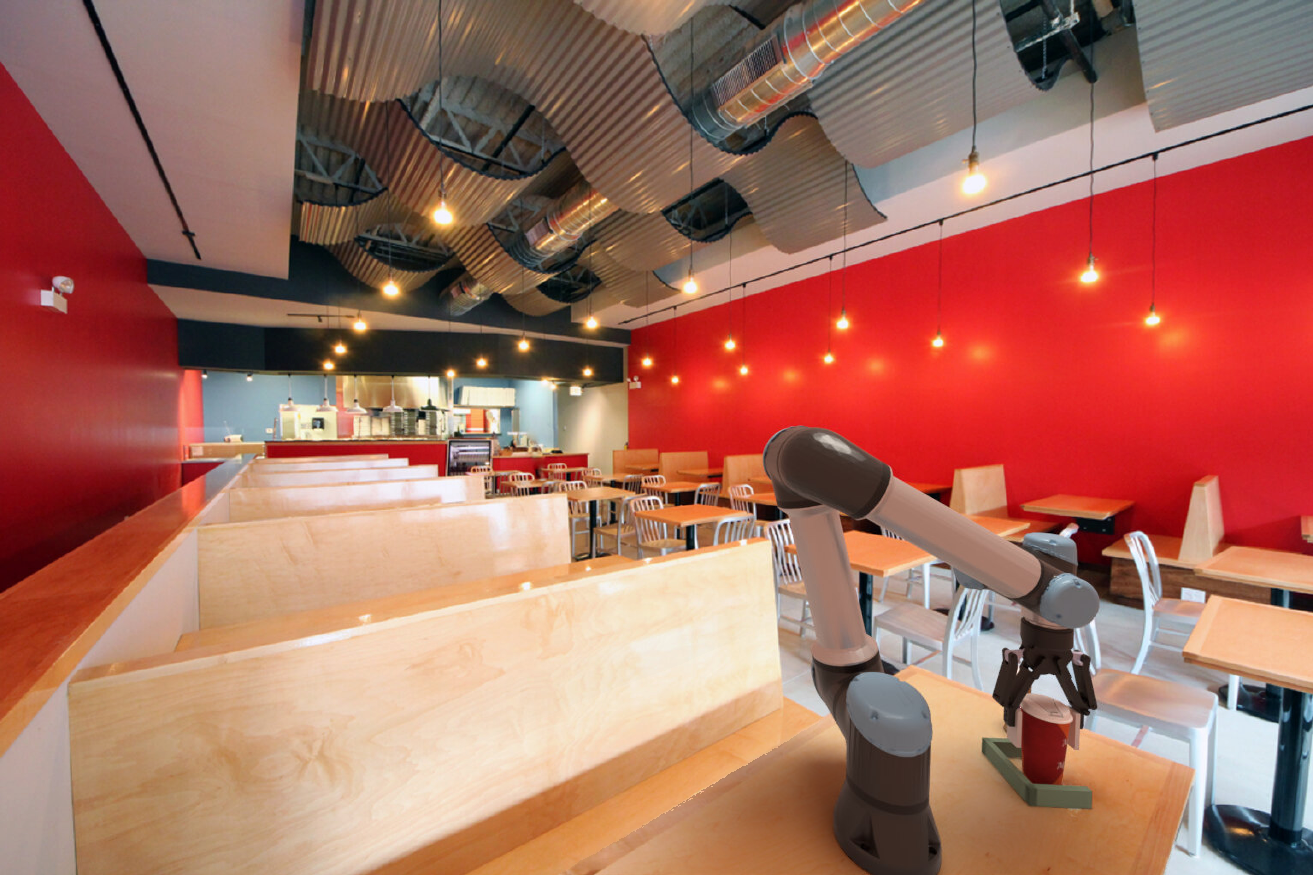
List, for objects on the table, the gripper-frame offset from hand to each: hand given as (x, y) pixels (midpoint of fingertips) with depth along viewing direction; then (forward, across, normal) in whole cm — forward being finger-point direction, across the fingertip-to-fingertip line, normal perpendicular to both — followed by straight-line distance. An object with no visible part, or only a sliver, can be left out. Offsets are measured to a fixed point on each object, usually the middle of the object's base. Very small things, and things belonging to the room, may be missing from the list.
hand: (1042, 743), depth 89 cm
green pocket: (+7, -2, 0) cm, 7 cm away
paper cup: (+7, 0, 0) cm, 7 cm away
